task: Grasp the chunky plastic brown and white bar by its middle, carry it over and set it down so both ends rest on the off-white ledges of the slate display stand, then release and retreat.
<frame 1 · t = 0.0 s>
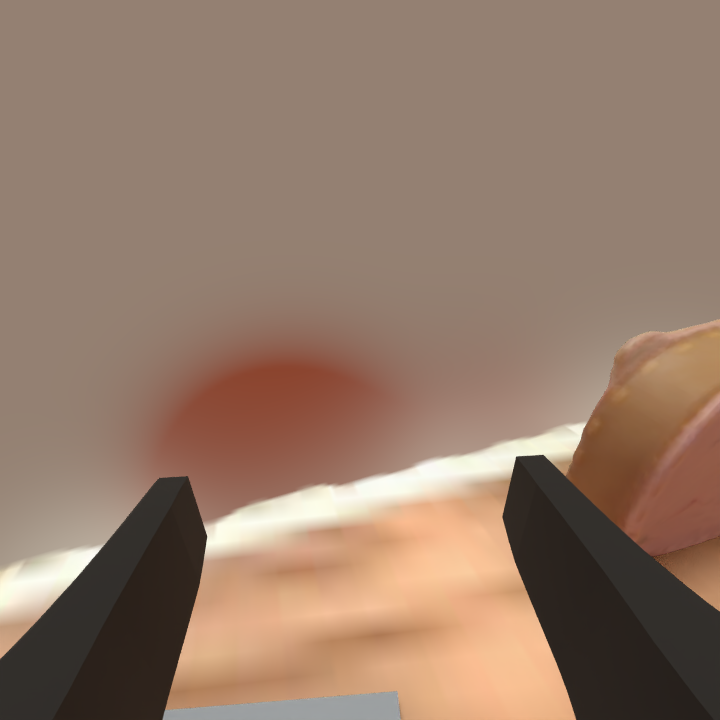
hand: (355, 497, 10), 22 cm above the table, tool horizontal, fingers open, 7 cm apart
face sculpture: (676, 525, 37), on the table
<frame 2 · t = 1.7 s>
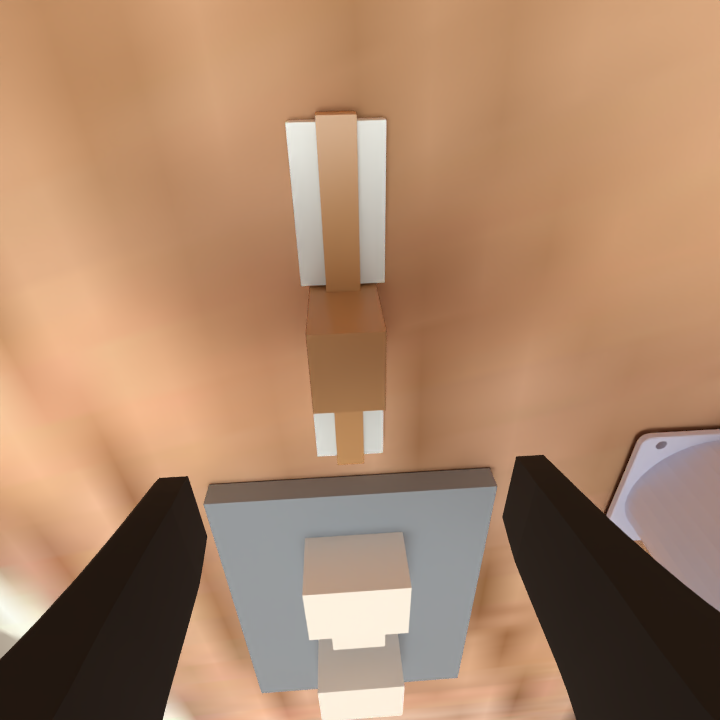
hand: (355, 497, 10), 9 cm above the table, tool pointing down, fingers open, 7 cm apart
brown and white bar: (344, 314, 18), on the table
display stand: (356, 589, 28), on the table
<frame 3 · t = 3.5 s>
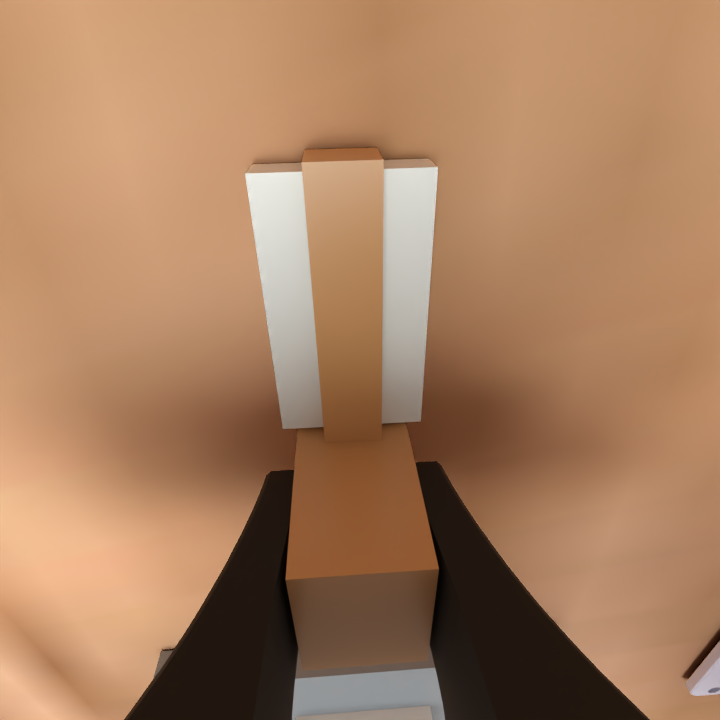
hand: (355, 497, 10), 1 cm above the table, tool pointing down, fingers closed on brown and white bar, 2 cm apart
brown and white bar: (352, 452, 11), on the table, touching gripper
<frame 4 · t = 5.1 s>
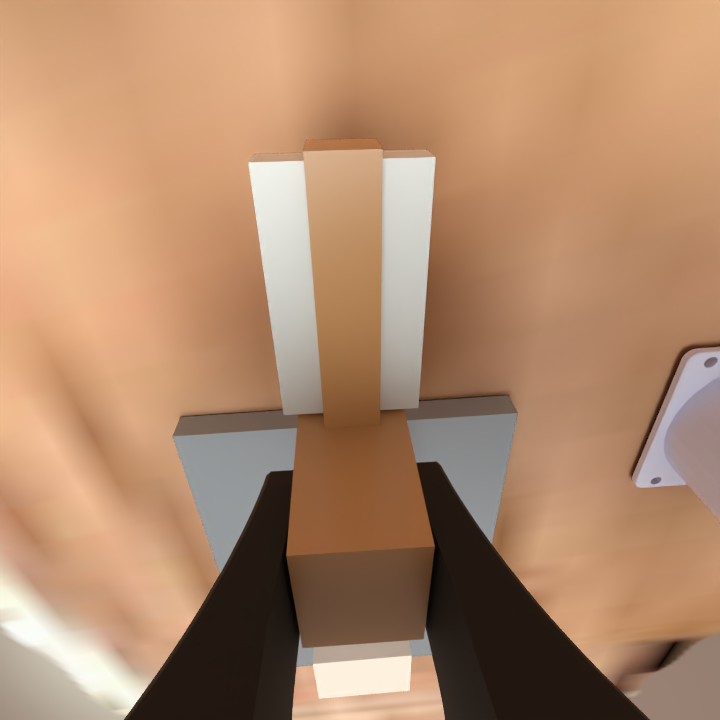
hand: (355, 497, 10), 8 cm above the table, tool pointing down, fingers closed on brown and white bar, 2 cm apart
brown and white bar: (351, 440, 12), point 7 cm above the table, touching gripper
display stand: (355, 549, 25), on the table
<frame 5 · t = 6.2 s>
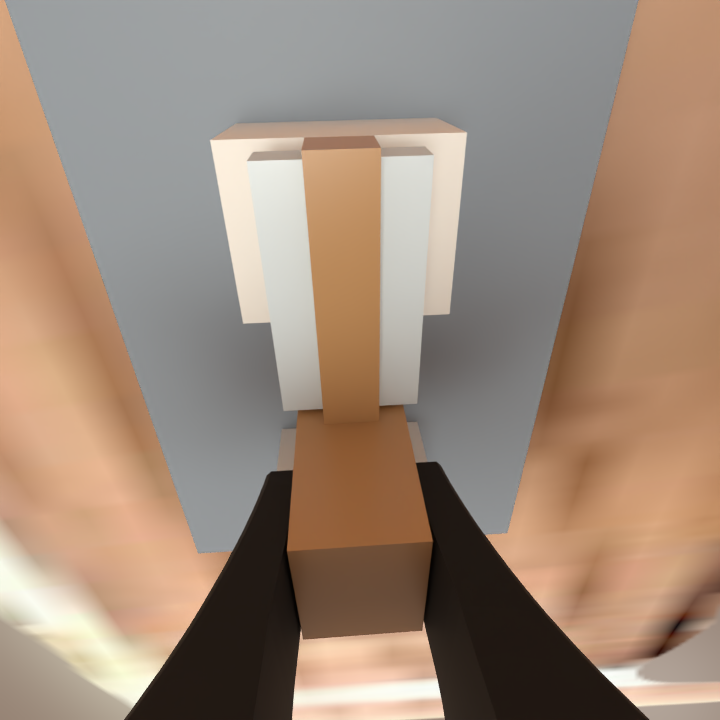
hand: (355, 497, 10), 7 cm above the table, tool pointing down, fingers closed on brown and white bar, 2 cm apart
brown and white bar: (351, 434, 12), point 5 cm above the table, touching gripper
display stand: (345, 338, 16), on the table
when the fingers open (7 cm above the table, at t = 6.9 s): brown and white bar stays where it is, resting on display stand.
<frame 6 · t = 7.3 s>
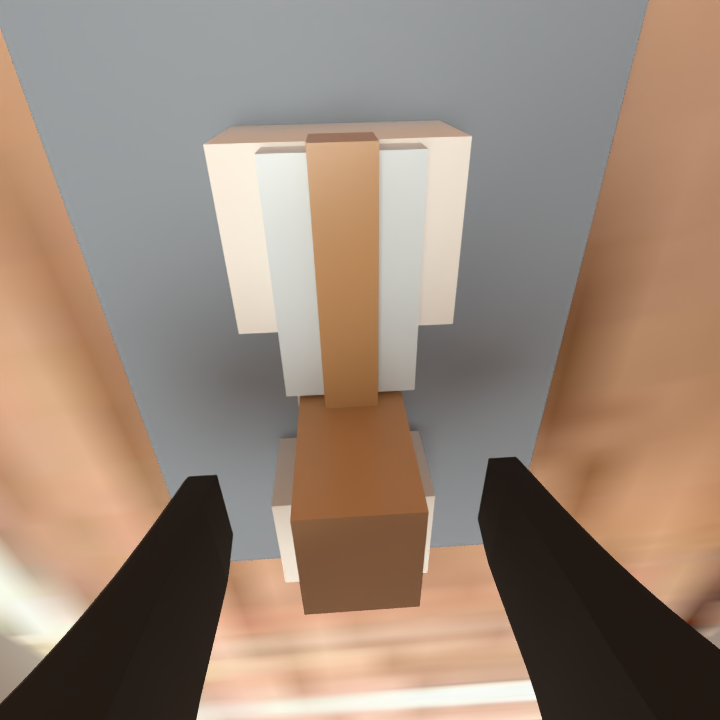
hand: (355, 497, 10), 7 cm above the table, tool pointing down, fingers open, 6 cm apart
brown and white bar: (351, 423, 12), point 4 cm above the table, touching display stand
display stand: (345, 346, 16), on the table
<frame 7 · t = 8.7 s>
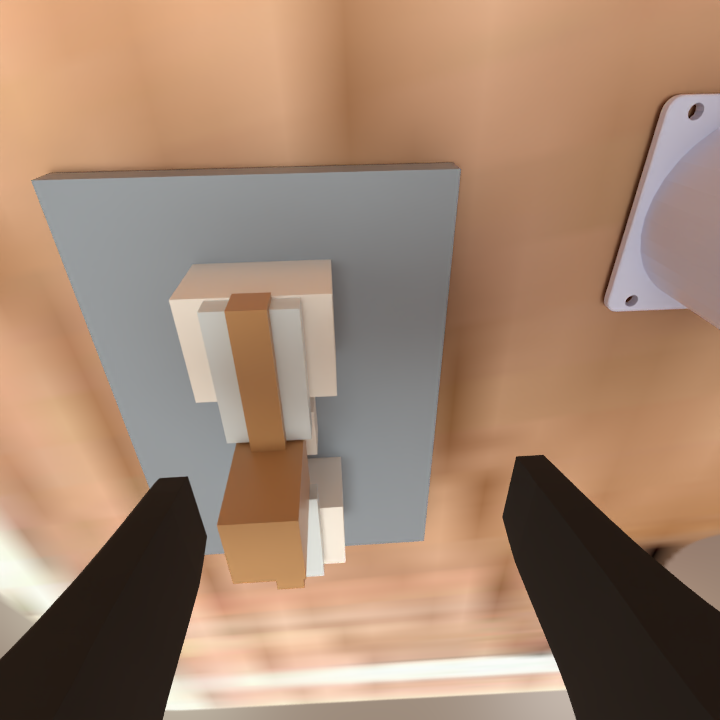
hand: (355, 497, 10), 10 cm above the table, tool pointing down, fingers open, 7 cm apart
brown and white bar: (276, 457, 18), point 4 cm above the table, touching display stand
display stand: (284, 395, 21), on the table
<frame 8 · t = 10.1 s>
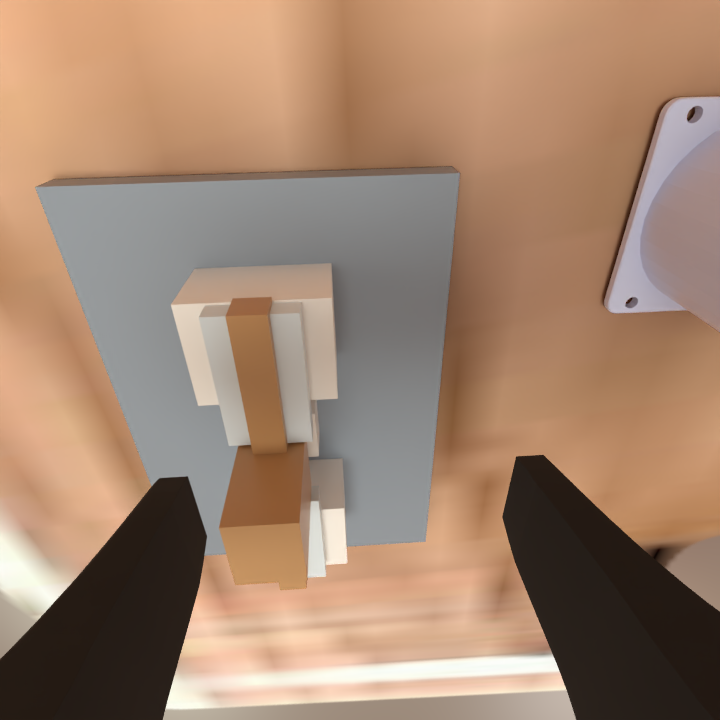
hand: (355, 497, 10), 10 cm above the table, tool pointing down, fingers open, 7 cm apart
brown and white bar: (278, 459, 18), point 4 cm above the table, touching display stand
display stand: (286, 397, 22), on the table
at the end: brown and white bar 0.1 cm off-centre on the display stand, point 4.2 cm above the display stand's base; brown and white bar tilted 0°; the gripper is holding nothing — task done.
